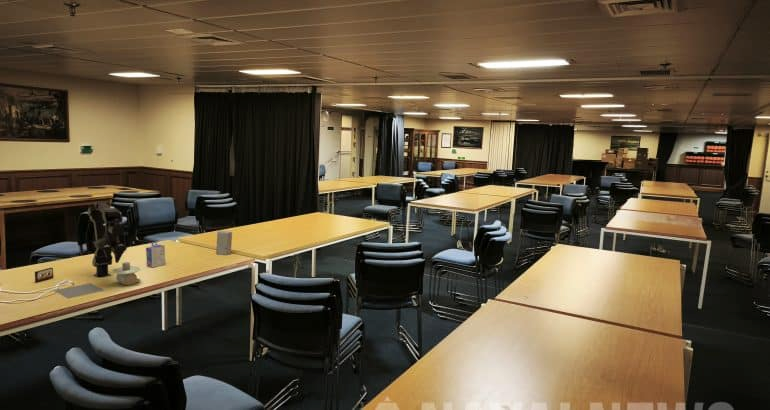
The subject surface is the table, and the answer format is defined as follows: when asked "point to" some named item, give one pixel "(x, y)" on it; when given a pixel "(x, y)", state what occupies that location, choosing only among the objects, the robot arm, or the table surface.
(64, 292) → the rubber mat
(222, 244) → the skincare box
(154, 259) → the ink cartridge box
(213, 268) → the table surface
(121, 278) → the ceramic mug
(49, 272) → the audio cassette
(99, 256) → the robot arm
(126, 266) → the round lid
